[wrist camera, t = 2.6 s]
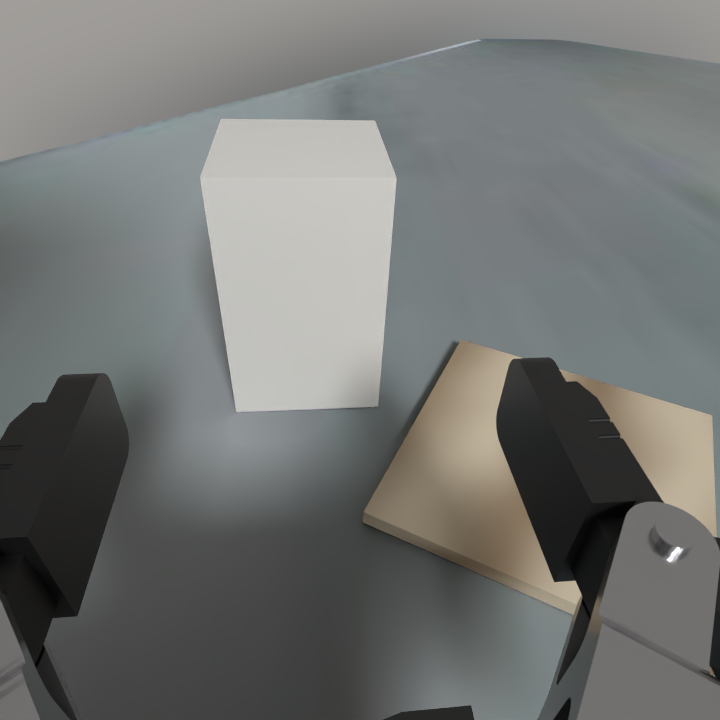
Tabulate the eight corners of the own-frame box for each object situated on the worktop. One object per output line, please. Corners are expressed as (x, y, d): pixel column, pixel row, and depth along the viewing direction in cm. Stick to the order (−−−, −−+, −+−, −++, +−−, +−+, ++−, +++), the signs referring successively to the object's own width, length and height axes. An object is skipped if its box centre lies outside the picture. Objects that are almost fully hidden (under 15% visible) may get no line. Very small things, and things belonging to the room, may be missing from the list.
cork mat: (362, 522, 19) (363, 512, 18) (459, 349, 27) (460, 339, 26) (711, 676, 15) (721, 667, 15) (705, 425, 23) (712, 415, 23)
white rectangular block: (236, 412, 23) (200, 177, 16) (246, 327, 27) (221, 119, 21) (377, 406, 23) (396, 177, 17) (364, 325, 28) (374, 120, 21)
